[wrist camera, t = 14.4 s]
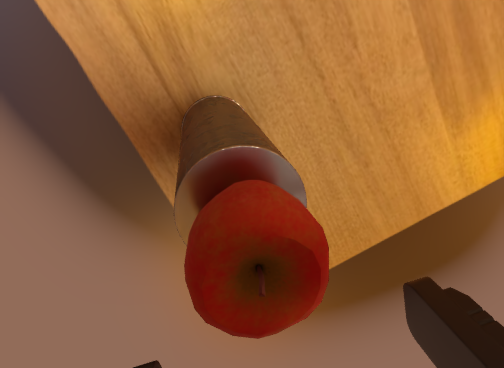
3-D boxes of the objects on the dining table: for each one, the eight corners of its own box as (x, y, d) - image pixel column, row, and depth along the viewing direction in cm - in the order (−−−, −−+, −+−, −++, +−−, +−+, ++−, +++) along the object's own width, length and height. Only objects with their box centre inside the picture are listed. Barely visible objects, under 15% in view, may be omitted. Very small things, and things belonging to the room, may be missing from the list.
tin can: (193, 171, 42) (196, 284, 22) (172, 106, 40) (153, 167, 19) (257, 153, 43) (318, 247, 22) (240, 87, 40) (293, 128, 20)
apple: (225, 136, 19) (244, 186, 12) (315, 192, 21) (376, 262, 14) (165, 230, 21) (152, 324, 14) (255, 274, 22) (284, 376, 16)
